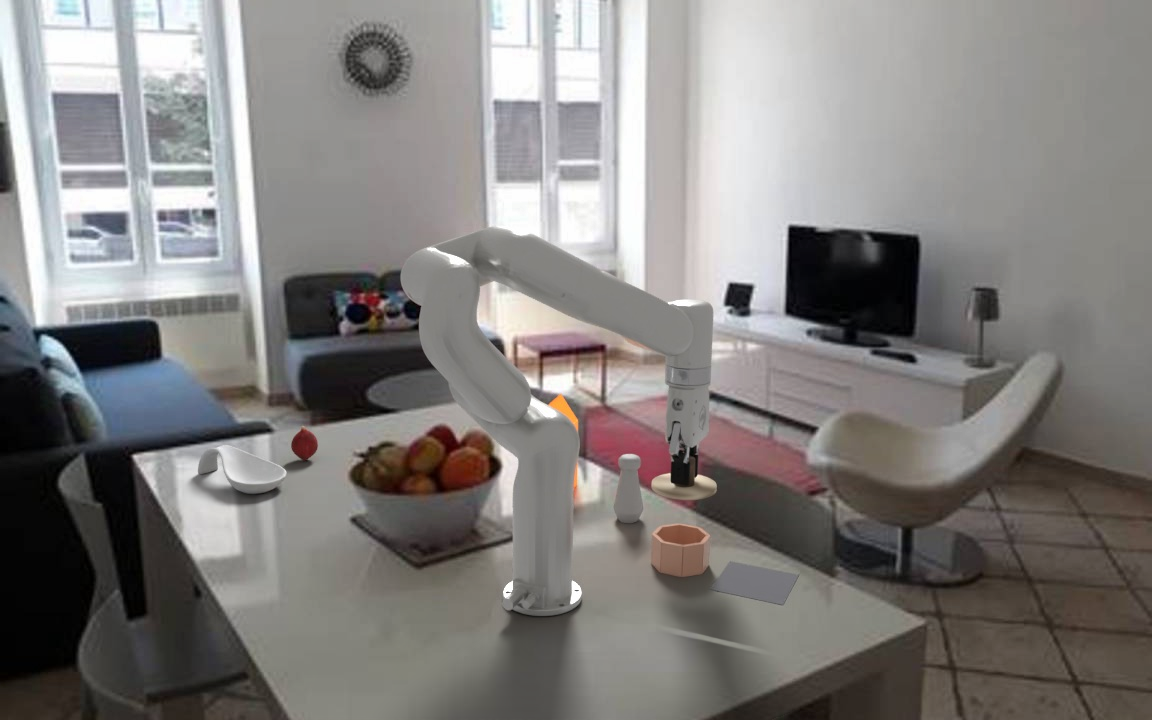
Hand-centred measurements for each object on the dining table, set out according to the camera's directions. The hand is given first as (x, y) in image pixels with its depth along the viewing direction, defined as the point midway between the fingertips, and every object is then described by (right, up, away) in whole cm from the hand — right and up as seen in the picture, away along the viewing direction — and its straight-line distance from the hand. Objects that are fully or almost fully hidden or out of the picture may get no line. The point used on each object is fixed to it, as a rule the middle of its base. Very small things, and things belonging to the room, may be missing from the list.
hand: (684, 479), depth 159 cm
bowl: (0, -16, +3) cm, 16 cm away
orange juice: (-23, -7, +39) cm, 46 cm away
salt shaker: (-8, -11, +24) cm, 28 cm away
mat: (+11, -17, -3) cm, 21 cm away
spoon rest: (-90, -6, +41) cm, 99 cm away
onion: (-80, -3, +56) cm, 98 cm away
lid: (0, -2, 0) cm, 2 cm away
